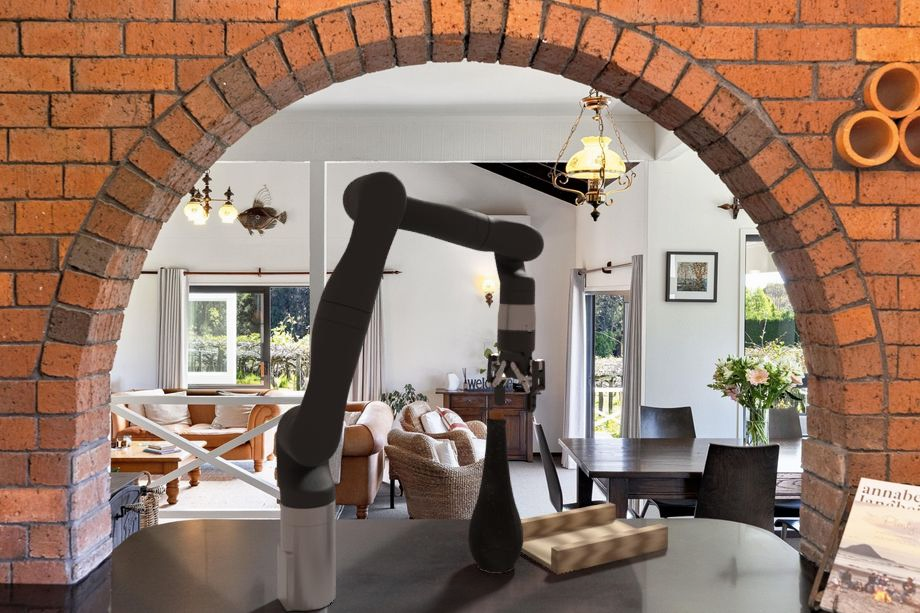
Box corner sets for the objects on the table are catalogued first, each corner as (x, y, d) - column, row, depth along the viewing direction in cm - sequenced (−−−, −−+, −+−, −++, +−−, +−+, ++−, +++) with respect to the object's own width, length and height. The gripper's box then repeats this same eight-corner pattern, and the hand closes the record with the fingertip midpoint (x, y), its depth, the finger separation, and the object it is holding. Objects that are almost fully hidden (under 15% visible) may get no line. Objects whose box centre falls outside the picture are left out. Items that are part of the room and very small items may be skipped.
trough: (557, 574, 137) (557, 551, 137) (505, 543, 153) (505, 522, 152) (667, 548, 150) (668, 526, 150) (609, 522, 166) (609, 502, 166)
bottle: (511, 581, 134) (512, 418, 133) (459, 571, 138) (459, 413, 137) (530, 560, 143) (532, 408, 142) (481, 552, 148) (481, 404, 147)
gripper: (478, 325, 148) (476, 405, 148) (528, 330, 137) (526, 416, 137) (505, 324, 153) (503, 402, 153) (556, 329, 142) (553, 412, 142)
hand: (514, 408), depth 145 cm, fingers open, 8 cm apart
